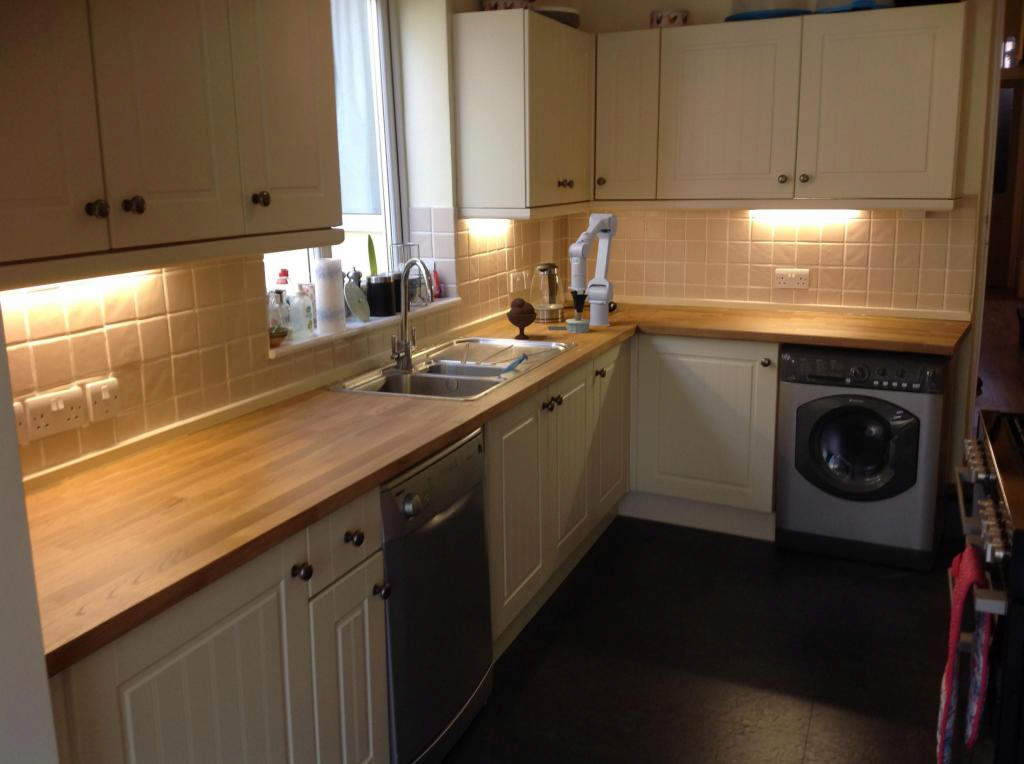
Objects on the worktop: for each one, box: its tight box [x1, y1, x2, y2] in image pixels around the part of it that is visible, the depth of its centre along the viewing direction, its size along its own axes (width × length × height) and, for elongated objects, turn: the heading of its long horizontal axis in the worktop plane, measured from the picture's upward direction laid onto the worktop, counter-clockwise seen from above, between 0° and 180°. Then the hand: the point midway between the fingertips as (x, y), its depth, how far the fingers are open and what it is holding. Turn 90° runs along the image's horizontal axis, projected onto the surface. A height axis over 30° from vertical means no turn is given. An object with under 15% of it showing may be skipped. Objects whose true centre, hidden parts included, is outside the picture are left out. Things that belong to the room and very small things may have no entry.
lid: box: [565, 309, 590, 324], centre depth 367 cm, size 9×9×5 cm
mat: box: [547, 325, 568, 331], centre depth 376 cm, size 9×7×1 cm
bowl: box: [567, 323, 590, 334], centre depth 368 cm, size 8×8×4 cm
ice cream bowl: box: [506, 297, 538, 341], centre depth 355 cm, size 11×11×15 cm
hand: (578, 311), depth 367 cm, fingers open, 7 cm apart
